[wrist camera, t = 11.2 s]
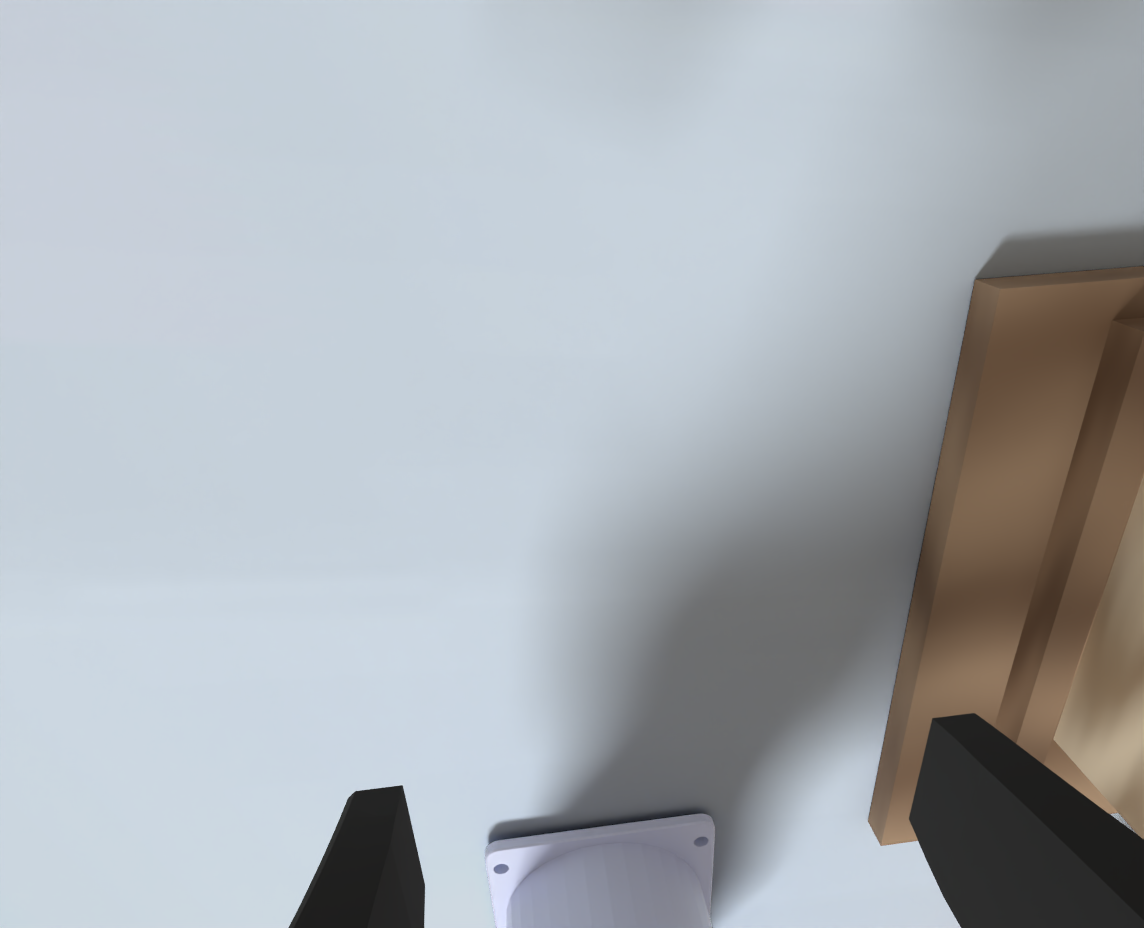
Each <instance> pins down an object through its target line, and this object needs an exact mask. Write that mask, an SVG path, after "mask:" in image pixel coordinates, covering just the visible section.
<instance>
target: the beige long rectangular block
mask: <svg viewBox="0 0 1144 928" xmlns="http://www.w3.org/2000/svg"><path fill="white" fill-rule="evenodd" d="M1054 741H1055V742H1056V743H1057V744H1058V745H1059V746H1060V747H1061V748H1062V750H1063V751H1064V752H1065V753H1066V754H1067V755H1068V756H1069V757H1070V759H1071V760H1072V761H1073V762H1074V763H1075V764H1076V765H1077V767H1078V768H1079V769H1080V770H1081V771H1082V772H1083V773H1084V774H1085V776H1086V777H1087V778H1088V779H1089V780H1090V781H1091V782H1092V783H1093V785H1094V786H1095V787H1096V788H1097V789H1098V790H1099V791H1100V793H1101V794H1102V795H1103V796H1104V797H1105V798H1106V799H1107V800H1108V802H1109V803H1110V804H1111V805H1112V806H1113V807H1114V808H1115V809H1116V811H1117V812H1118V813H1119V814H1120V815H1121V816H1122V817H1123V818H1124V820H1125V821H1126V822H1127V823H1128V824H1129V825H1130V826H1131V828H1132V829H1133V830H1134V831H1135V832H1136V833H1137V834H1138V835H1139V836H1140V837H1141V838H1143V839H1144V476H1143V479H1142V481H1141V484H1140V487H1139V490H1138V493H1137V496H1136V499H1135V502H1134V505H1133V508H1132V511H1131V514H1130V517H1129V519H1128V522H1127V525H1126V528H1125V531H1124V534H1123V537H1122V540H1121V543H1120V546H1119V549H1118V552H1117V554H1116V557H1115V560H1114V563H1113V566H1112V569H1111V572H1110V575H1109V578H1108V581H1107V584H1106V587H1105V590H1104V592H1103V595H1102V598H1101V601H1100V604H1099V607H1098V610H1097V613H1096V616H1095V619H1094V622H1093V625H1092V628H1091V630H1090V633H1089V636H1088V639H1087V642H1086V645H1085V648H1084V651H1083V654H1082V657H1081V660H1080V663H1079V665H1078V668H1077V671H1076V674H1075V677H1074V680H1073V683H1072V686H1071V689H1070V692H1069V695H1068V698H1067V701H1066V703H1065V706H1064V709H1063V712H1062V715H1061V718H1060V721H1059V724H1058V727H1057V730H1056V733H1055V736H1054Z"/></svg>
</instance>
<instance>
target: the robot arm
mask: <svg viewBox="0 0 1144 928" xmlns="http://www.w3.org/2000/svg"><path fill="white" fill-rule="evenodd" d="M909 821H910V823H911V825H912V827H913V830H914V832H915V834H916V837H917V839H918V841H919V844H920V846H921V848H922V851H923V853H924V855H925V858H926V860H927V862H928V864H929V866H930V868H931V871H932V873H933V875H934V877H935V879H936V881H937V884H938V886H939V888H940V890H941V892H942V894H943V896H944V898H945V900H946V902H947V904H948V905H949V907H950V909H951V911H952V912H953V914H954V916H955V918H956V919H957V921H958V923H959V925H960V926H961V928H1144V839H1143V838H1141V837H1140V836H1138V835H1137V834H1136V833H1134V832H1133V831H1132V830H1130V829H1129V828H1127V827H1126V826H1125V825H1123V824H1122V823H1121V822H1119V821H1118V820H1117V819H1115V818H1114V817H1113V816H1111V815H1110V814H1109V813H1107V812H1106V811H1104V810H1103V809H1102V808H1100V807H1099V806H1098V805H1096V804H1095V803H1094V802H1092V801H1091V800H1090V799H1088V798H1087V797H1086V796H1084V795H1083V794H1082V793H1080V792H1079V791H1078V790H1076V789H1075V788H1074V787H1073V786H1071V785H1070V784H1069V783H1067V782H1066V781H1065V780H1063V779H1062V778H1061V777H1059V776H1058V775H1057V774H1055V773H1054V772H1053V771H1051V770H1050V769H1049V768H1047V767H1046V766H1045V765H1043V764H1042V763H1041V762H1040V761H1038V760H1037V759H1036V758H1034V757H1033V756H1032V755H1030V754H1029V753H1028V752H1026V751H1025V750H1024V749H1022V748H1021V747H1020V746H1019V745H1017V744H1016V743H1015V742H1013V741H1012V740H1011V739H1009V738H1008V737H1007V736H1005V735H1004V734H1003V733H1001V732H1000V731H999V730H997V729H996V728H995V727H993V726H992V725H991V724H989V723H988V722H986V721H985V720H984V719H982V718H981V717H980V716H978V715H977V714H975V713H970V714H962V715H954V716H946V717H938V718H932V722H931V726H930V730H929V734H928V739H927V743H926V747H925V751H924V756H923V760H922V764H921V769H920V773H919V777H918V781H917V786H916V790H915V794H914V798H913V803H912V807H911V811H910V815H909ZM714 841H715V826H714V823H713V820H712V818H711V817H710V816H709V815H707V814H691V815H684V816H676V817H669V818H661V819H654V820H646V821H639V822H632V823H624V824H617V825H609V826H602V827H594V828H587V829H579V830H572V831H564V832H557V833H549V834H542V835H534V836H527V837H519V838H512V839H504V840H498V841H494V842H492V843H490V844H489V845H488V846H487V847H486V849H485V863H486V869H487V875H488V882H489V888H490V894H491V900H492V906H493V913H494V919H495V925H496V928H712V924H711V921H710V911H711V894H712V876H713V859H714ZM424 906H425V883H424V879H423V874H422V870H421V865H420V861H419V856H418V852H417V847H416V843H415V839H414V834H413V830H412V825H411V821H410V816H409V812H408V807H407V803H406V798H405V794H404V789H403V785H402V786H394V787H386V788H378V789H370V790H362V791H355V792H354V793H353V794H352V795H351V796H350V797H349V798H348V800H347V802H346V805H345V807H344V810H343V812H342V815H341V817H340V820H339V822H338V824H337V827H336V829H335V831H334V834H333V836H332V838H331V840H330V843H329V845H328V847H327V849H326V852H325V854H324V856H323V858H322V860H321V863H320V865H319V867H318V869H317V871H316V873H315V875H314V878H313V880H312V882H311V884H310V886H309V888H308V890H307V892H306V894H305V896H304V898H303V900H302V903H301V905H300V907H299V909H298V911H297V913H296V915H295V917H294V918H293V920H292V922H291V924H290V926H289V928H424Z"/></svg>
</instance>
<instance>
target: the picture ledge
mask: <svg viewBox="0 0 1144 928" xmlns="http://www.w3.org/2000/svg"><path fill="white" fill-rule="evenodd" d="M1143 476H1144V266H1139V267H1126V268H1114V269H1101V270H1088V271H1076V272H1063V273H1051V274H1038V275H1026V276H1013V277H1001V278H988V279H976V280H975V282H974V287H973V292H972V297H971V303H970V308H969V313H968V318H967V323H966V328H965V333H964V338H963V343H962V348H961V353H960V358H959V363H958V368H957V373H956V378H955V383H954V389H953V394H952V399H951V404H950V409H949V414H948V419H947V424H946V429H945V434H944V439H943V444H942V449H941V454H940V459H939V464H938V469H937V475H936V480H935V485H934V490H933V495H932V500H931V505H930V510H929V515H928V520H927V525H926V530H925V535H924V540H923V545H922V550H921V555H920V561H919V566H918V571H917V576H916V581H915V586H914V591H913V596H912V601H911V606H910V611H909V616H908V621H907V626H906V631H905V636H904V642H903V647H902V652H901V657H900V662H899V667H898V672H897V677H896V682H895V687H894V692H893V697H892V702H891V707H890V712H889V717H888V722H887V728H886V733H885V738H884V743H883V748H882V753H881V758H880V763H879V768H878V773H877V778H876V783H875V788H874V793H873V798H872V803H871V808H870V814H869V819H868V822H869V824H870V826H871V828H872V830H873V832H874V834H875V836H876V837H877V839H878V841H879V843H880V845H881V846H883V845H891V844H898V843H905V842H912V841H918V839H917V837H916V834H915V832H914V830H913V827H912V825H911V823H910V821H909V815H910V811H911V807H912V803H913V798H914V794H915V790H916V786H917V781H918V777H919V773H920V769H921V764H922V760H923V756H924V751H925V747H926V743H927V739H928V734H929V730H930V726H931V722H932V718H938V717H946V716H954V715H962V714H970V713H975V714H977V715H978V716H980V717H981V718H982V719H984V720H985V721H986V722H988V723H989V724H991V725H992V726H993V727H995V728H996V729H997V730H999V731H1000V732H1001V733H1003V734H1004V735H1005V736H1007V737H1008V738H1009V739H1011V740H1012V741H1013V742H1015V743H1016V744H1017V745H1019V746H1020V747H1021V748H1022V749H1024V750H1025V751H1026V752H1028V753H1029V754H1030V755H1032V756H1033V757H1034V758H1036V759H1037V760H1038V761H1040V762H1041V763H1042V764H1043V765H1045V766H1046V767H1047V768H1049V769H1050V770H1051V771H1053V772H1054V773H1055V774H1057V775H1058V776H1059V777H1061V778H1062V779H1063V780H1065V781H1066V782H1067V783H1069V784H1070V785H1071V786H1073V787H1074V788H1075V789H1076V790H1078V791H1079V792H1080V793H1082V794H1083V795H1084V796H1086V797H1087V798H1088V799H1090V800H1091V801H1092V802H1094V803H1095V804H1096V805H1098V806H1099V807H1100V808H1102V809H1103V810H1104V811H1106V812H1107V813H1109V814H1113V813H1118V812H1117V811H1116V809H1115V808H1114V807H1113V806H1112V805H1111V804H1110V803H1109V802H1108V800H1107V799H1106V798H1105V797H1104V796H1103V795H1102V794H1101V793H1100V791H1099V790H1098V789H1097V788H1096V787H1095V786H1094V785H1093V783H1092V782H1091V781H1090V780H1089V779H1088V778H1087V777H1086V776H1085V774H1084V773H1083V772H1082V771H1081V770H1080V769H1079V768H1078V767H1077V765H1076V764H1075V763H1074V762H1073V761H1072V760H1071V759H1070V757H1069V756H1068V755H1067V754H1066V753H1065V752H1064V751H1063V750H1062V748H1061V747H1060V746H1059V745H1058V744H1057V743H1056V742H1055V741H1054V736H1055V733H1056V730H1057V727H1058V724H1059V721H1060V718H1061V715H1062V712H1063V709H1064V706H1065V703H1066V701H1067V698H1068V695H1069V692H1070V689H1071V686H1072V683H1073V680H1074V677H1075V674H1076V671H1077V668H1078V665H1079V663H1080V660H1081V657H1082V654H1083V651H1084V648H1085V645H1086V642H1087V639H1088V636H1089V633H1090V630H1091V628H1092V625H1093V622H1094V619H1095V616H1096V613H1097V610H1098V607H1099V604H1100V601H1101V598H1102V595H1103V592H1104V590H1105V587H1106V584H1107V581H1108V578H1109V575H1110V572H1111V569H1112V566H1113V563H1114V560H1115V557H1116V554H1117V552H1118V549H1119V546H1120V543H1121V540H1122V537H1123V534H1124V531H1125V528H1126V525H1127V522H1128V519H1129V517H1130V514H1131V511H1132V508H1133V505H1134V502H1135V499H1136V496H1137V493H1138V490H1139V487H1140V484H1141V481H1142V479H1143Z"/></svg>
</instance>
